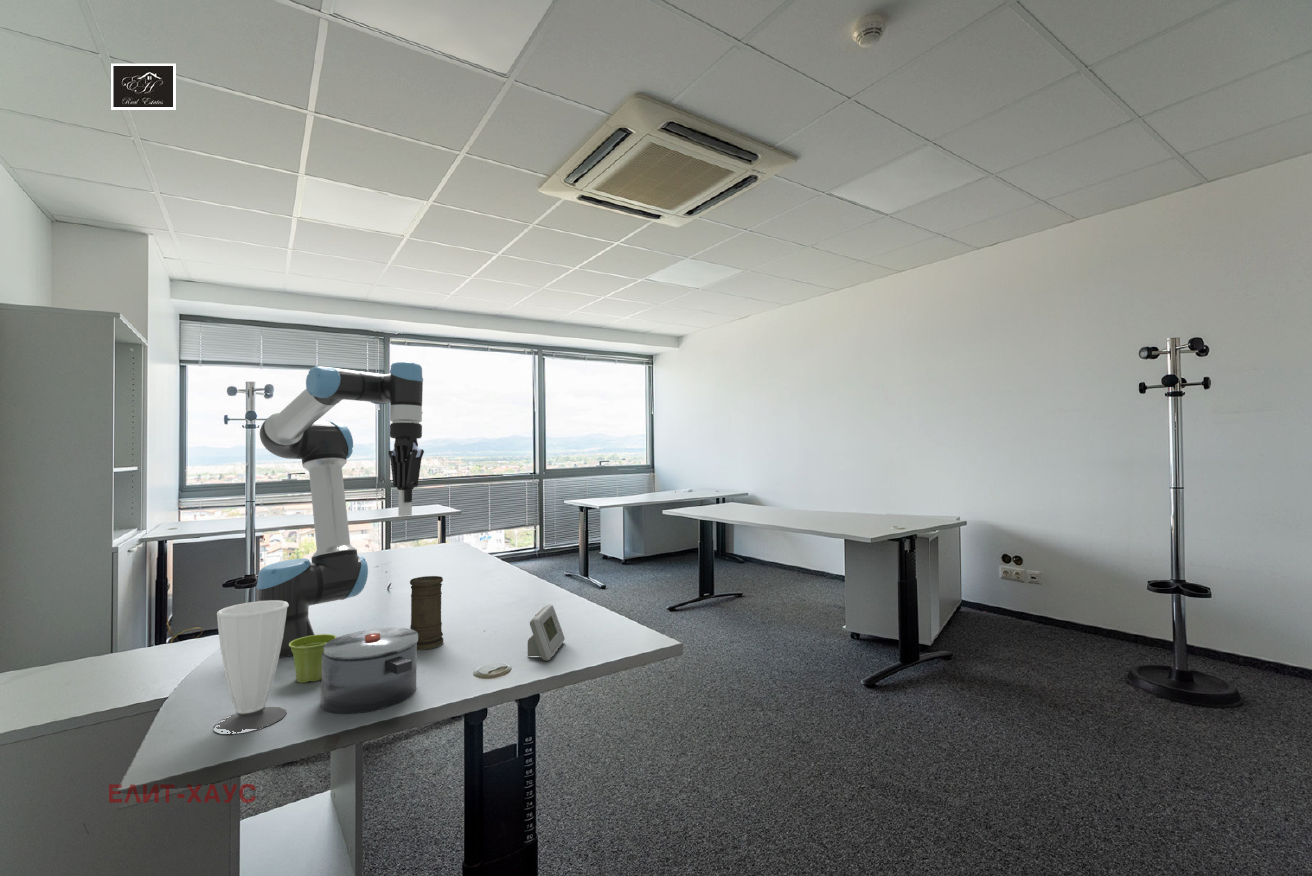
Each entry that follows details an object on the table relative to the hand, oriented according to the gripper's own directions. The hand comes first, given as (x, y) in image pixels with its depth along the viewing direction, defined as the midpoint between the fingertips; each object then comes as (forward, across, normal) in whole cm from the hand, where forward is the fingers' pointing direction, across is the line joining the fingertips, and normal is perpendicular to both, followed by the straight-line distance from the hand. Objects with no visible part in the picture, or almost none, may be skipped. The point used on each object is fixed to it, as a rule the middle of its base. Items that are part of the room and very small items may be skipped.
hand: (405, 515), depth 140 cm
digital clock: (+37, -24, -26) cm, 51 cm away
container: (+37, +8, -11) cm, 39 cm away
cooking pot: (+36, -14, +15) cm, 42 cm away
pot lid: (+26, -14, +15) cm, 33 cm away
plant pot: (+37, +7, +18) cm, 41 cm away
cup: (+37, -7, +34) cm, 51 cm away
